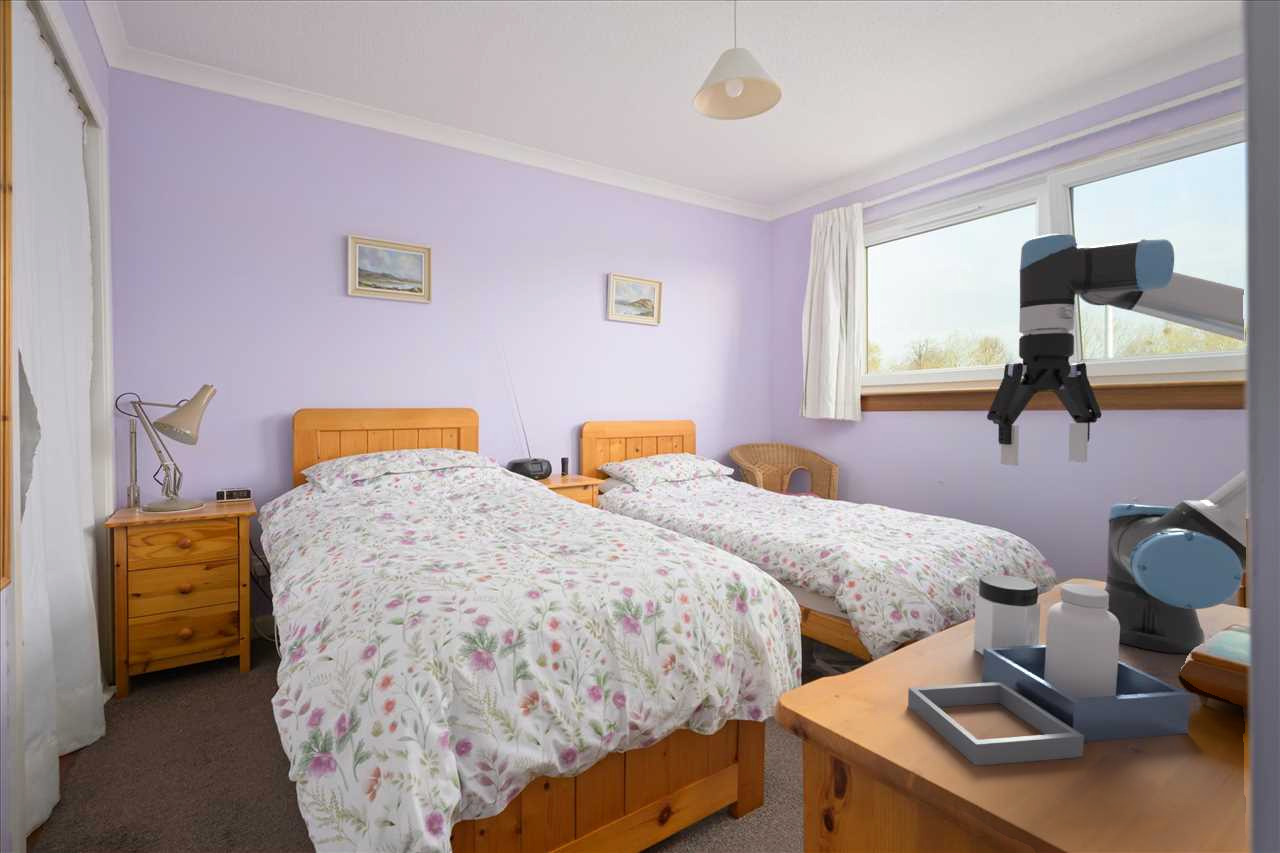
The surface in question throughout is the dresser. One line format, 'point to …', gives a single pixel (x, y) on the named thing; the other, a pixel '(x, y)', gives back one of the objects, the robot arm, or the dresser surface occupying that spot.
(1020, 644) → the jar
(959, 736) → the frame
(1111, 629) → the pill bottle
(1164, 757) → the dresser surface
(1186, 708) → the bin
